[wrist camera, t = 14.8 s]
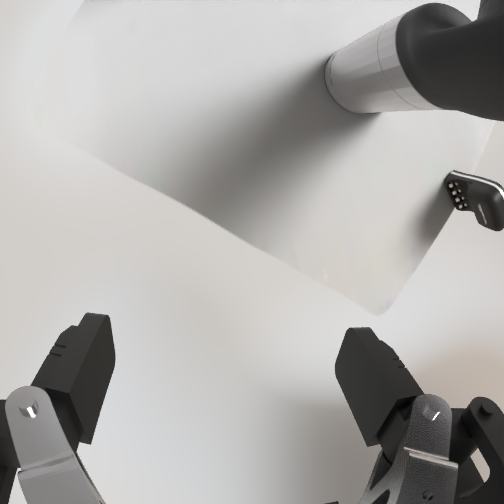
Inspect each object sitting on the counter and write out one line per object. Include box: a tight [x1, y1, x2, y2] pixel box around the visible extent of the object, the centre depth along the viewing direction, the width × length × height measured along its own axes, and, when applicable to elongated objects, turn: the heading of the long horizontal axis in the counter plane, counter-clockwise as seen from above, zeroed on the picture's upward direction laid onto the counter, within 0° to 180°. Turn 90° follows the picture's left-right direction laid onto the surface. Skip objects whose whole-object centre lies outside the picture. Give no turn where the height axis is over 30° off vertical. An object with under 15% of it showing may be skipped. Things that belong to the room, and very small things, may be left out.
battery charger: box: [445, 170, 504, 231], centre depth 35 cm, size 7×4×11 cm, turn 42°
